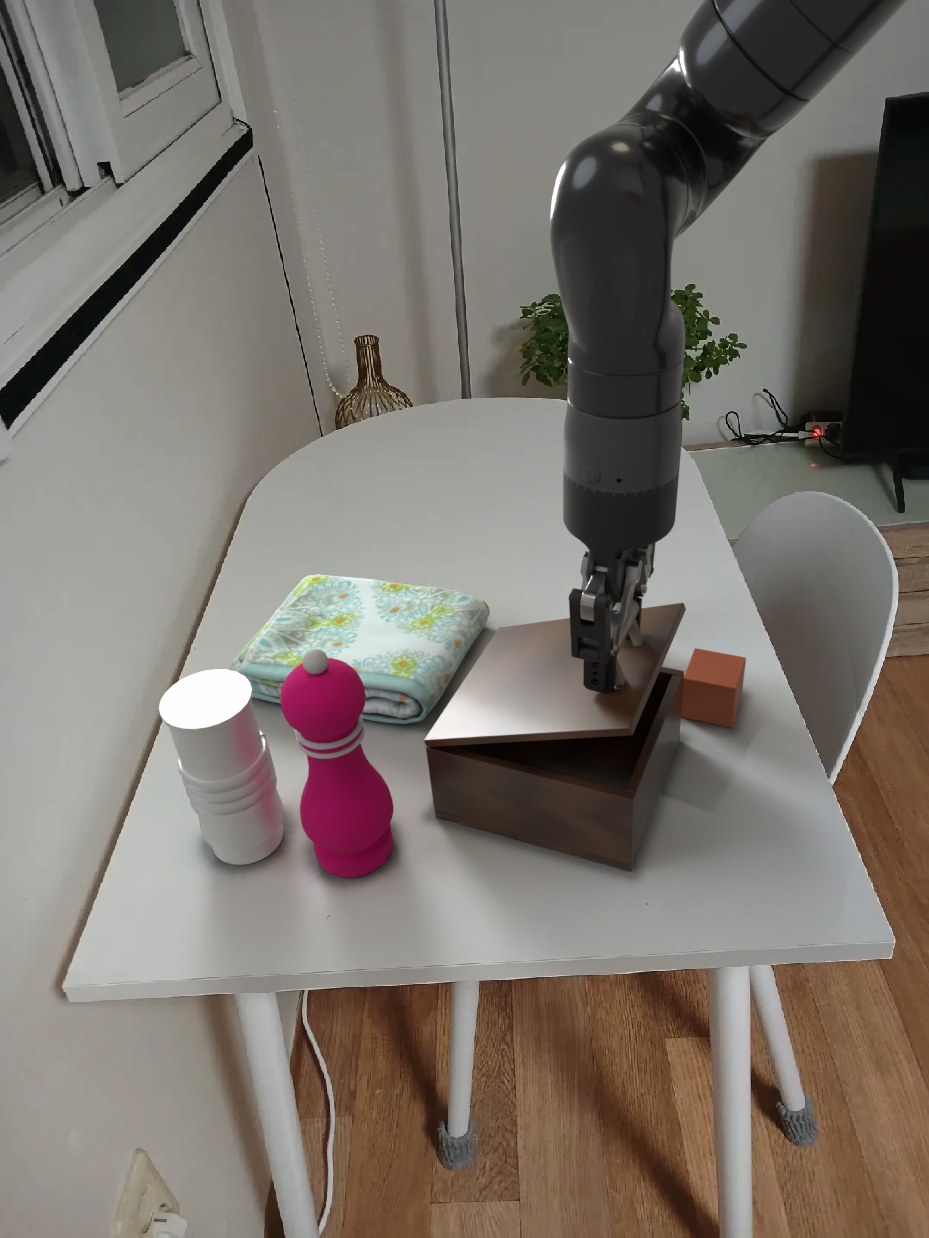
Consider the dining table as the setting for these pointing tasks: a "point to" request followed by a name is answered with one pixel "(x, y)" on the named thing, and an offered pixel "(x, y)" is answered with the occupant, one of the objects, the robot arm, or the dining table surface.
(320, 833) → the pepper mill
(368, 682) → the towel
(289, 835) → the dining table surface
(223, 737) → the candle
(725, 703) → the block
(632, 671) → the lid
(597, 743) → the chest
